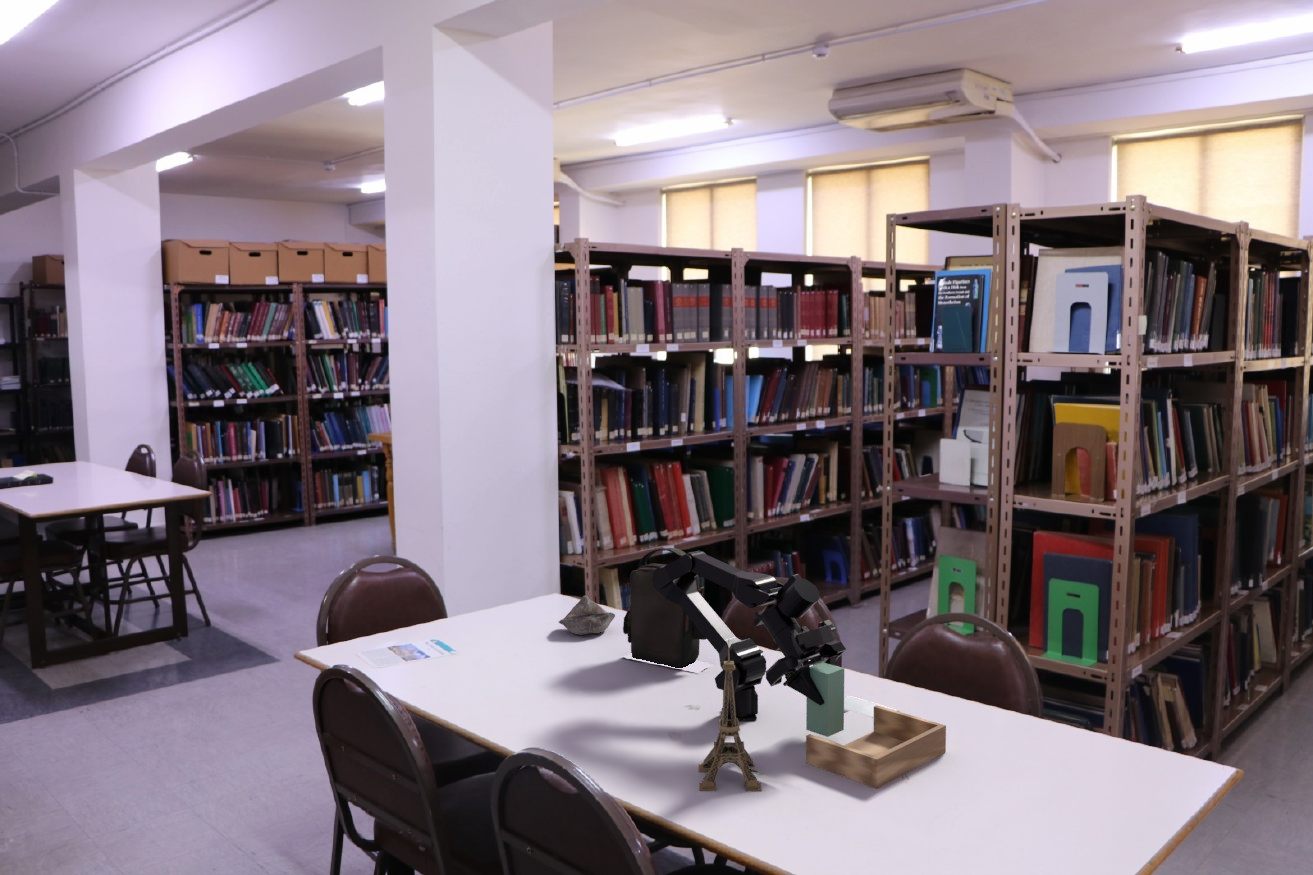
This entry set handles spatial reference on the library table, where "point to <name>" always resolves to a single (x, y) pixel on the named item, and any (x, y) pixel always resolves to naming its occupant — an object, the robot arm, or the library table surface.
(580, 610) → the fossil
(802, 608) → the robot arm
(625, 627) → the shoulder bag
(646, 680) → the library table surface
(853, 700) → the white flat slab
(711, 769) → the eiffel tower
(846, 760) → the oak crate
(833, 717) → the green block
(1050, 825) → the library table surface
